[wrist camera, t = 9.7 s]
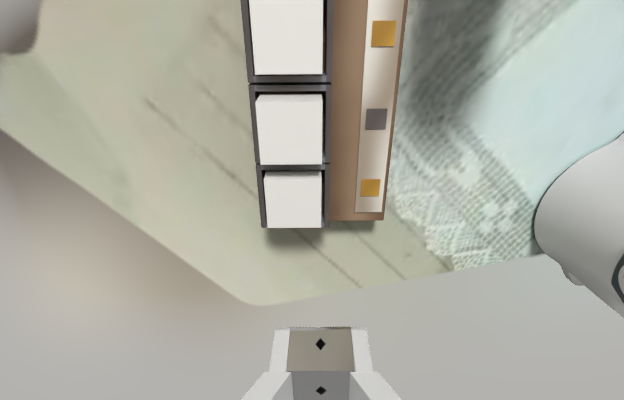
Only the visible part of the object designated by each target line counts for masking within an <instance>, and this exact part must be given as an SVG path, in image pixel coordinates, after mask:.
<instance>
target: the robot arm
mask: <svg viewBox="0 0 624 400" xmlns="http://www.w3.org/2000/svg"><path fill="white" fill-rule="evenodd" d="M534 232H535V237H536V240H537V243H538V245H539V246H540V248H541V249H542V250H543V252H544V253H546V254H547V255H548V256H549V257H551V258H552V259H554V260H555V261H557V262H558V263H559V264H560V265H561V267H562V270H563V272H564V274H565V276H566V277H567V278H568V279H569V280H570V281H571V282H572V283H574V284H575V285H585V286H586V287H587V288H588V289H589V290H591V291H592V292H593V293H594V294H595V295H597V296H598V297H599V298H600V299H601V300H603V301H604V302H605V303H606V304H607V305H609V306H610V307H611V308H612V309H613V310H615V311H616V312H617V313H619V314H620V315H621V316H622V317H623V318H624V133H623V134H622V135H620V136H619V137H618V138H617V139H616V140H614V141H613V142H611V143H610V144H608V145H606V146H604V147H602V148H600V149H598V150H596V151H594V152H592V153H590V154H589V155H587V156H585V157H584V158H582V159H580V160H579V161H578V162H576V163H575V164H573V165H572V166H571V167H569V168H568V169H567V170H566V171H565V172H564V173H563V174H562V175H561V176H559V177H558V179H557V180H556V181H555V182H554V183H553V184H552V185H551V187H550V188H549V189H548V191H547V192H546V194H545V195H544V197H543V199H542V201H541V203H540V205H539V207H538V210H537V213H536V217H535V222H534ZM241 400H401V399H400V397H399V396H398V395H397V394H396V393H395V391H394V390H393V389H392V388H391V387H390V386H389V384H388V383H387V382H386V381H385V380H384V378H383V377H382V376H381V375H380V374H379V373H378V372H373V366H372V360H371V353H370V347H369V340H368V334H367V329H366V327H320V328H315V327H276V328H275V330H274V336H273V343H272V350H271V357H270V364H269V371H268V372H263V374H262V375H261V376H260V377H259V378H258V380H257V381H256V382H255V383H254V384H253V385H252V387H251V388H250V389H249V390H248V391H247V393H246V394H245V395H244V396H243V397H242V399H241Z"/></svg>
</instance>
